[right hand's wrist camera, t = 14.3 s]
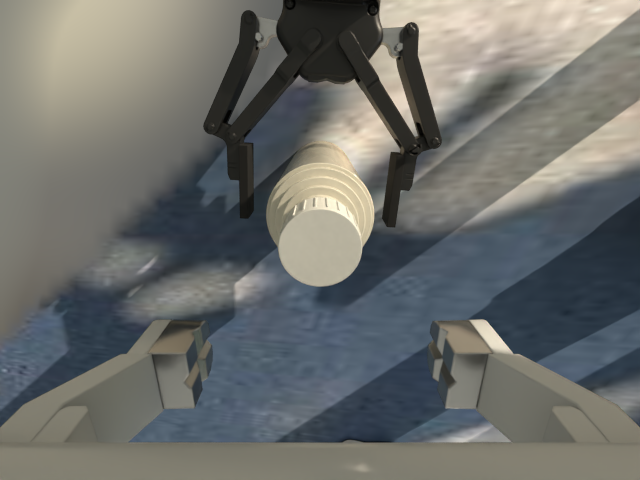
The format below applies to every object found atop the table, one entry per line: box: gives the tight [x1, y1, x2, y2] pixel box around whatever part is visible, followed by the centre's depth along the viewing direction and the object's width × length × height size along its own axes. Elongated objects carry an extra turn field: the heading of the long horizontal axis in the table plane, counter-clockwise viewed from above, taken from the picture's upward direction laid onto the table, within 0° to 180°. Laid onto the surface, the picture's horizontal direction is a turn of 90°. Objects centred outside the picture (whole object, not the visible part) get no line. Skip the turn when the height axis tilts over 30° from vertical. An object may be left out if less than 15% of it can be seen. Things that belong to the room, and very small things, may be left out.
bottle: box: [266, 141, 374, 247], centre depth 28 cm, size 7×7×22 cm
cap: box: [278, 197, 362, 286], centre depth 18 cm, size 4×4×2 cm
